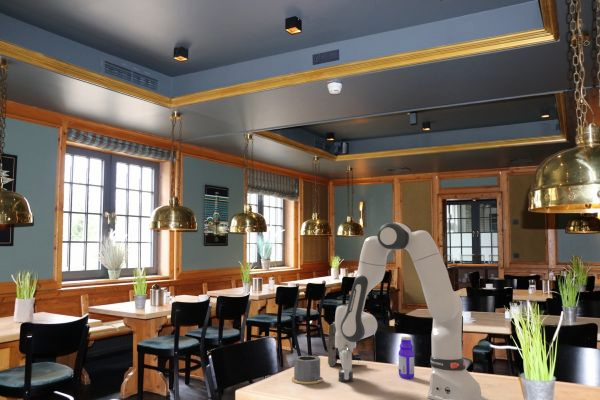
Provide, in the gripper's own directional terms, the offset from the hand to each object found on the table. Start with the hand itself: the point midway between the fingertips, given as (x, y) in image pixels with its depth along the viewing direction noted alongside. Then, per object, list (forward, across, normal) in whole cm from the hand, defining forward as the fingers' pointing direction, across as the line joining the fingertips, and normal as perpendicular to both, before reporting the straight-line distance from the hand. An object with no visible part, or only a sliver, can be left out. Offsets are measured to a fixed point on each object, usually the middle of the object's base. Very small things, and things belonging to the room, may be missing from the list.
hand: (345, 376), depth 218 cm
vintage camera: (+2, +29, -2) cm, 29 cm away
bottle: (+2, +6, -26) cm, 27 cm away
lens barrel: (+2, 0, +16) cm, 16 cm away
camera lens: (+2, 0, 0) cm, 2 cm away
